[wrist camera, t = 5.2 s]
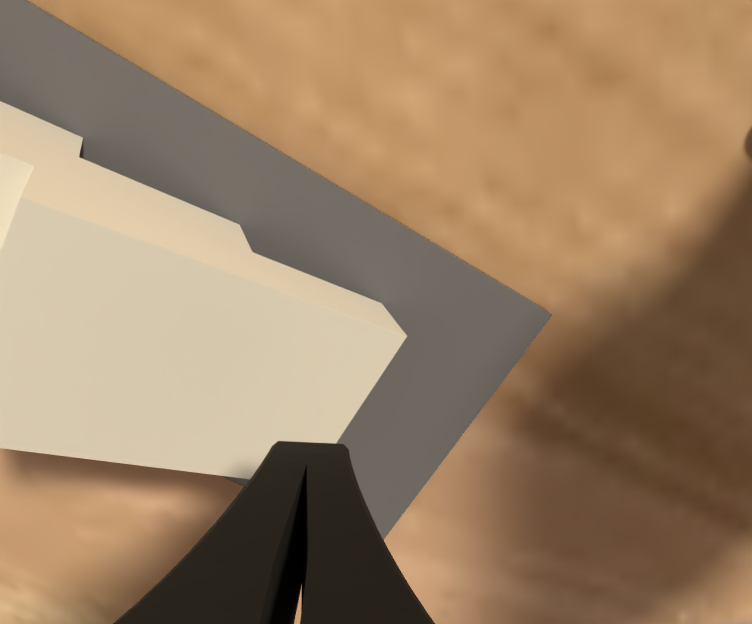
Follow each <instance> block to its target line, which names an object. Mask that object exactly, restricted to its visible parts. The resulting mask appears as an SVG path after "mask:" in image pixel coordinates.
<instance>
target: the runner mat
mask: <svg viewBox="0 0 752 624" xmlns="http://www.w3.org/2000/svg"><path fill="white" fill-rule="evenodd" d="M0 101H1V102H3V103H6V104H8V105H10V106H13V107H15V108H17V109H19V110H22V111H24V112H26V113H28V114H31V115H33V116H35V117H37V118H40V119H42V120H44V121H46V122H49V123H51V124H53V125H55V126H58V127H60V128H62V129H64V130H67V131H69V132H71V133H73V134H76V135H78V136H80V137H83V140H82V145H81V150H80V155H79V157H80V158H82V159H85V160H87V161H89V162H92V163H94V164H97V165H99V166H101V167H104V168H106V169H108V170H111V171H113V172H116V173H118V174H120V175H123V176H125V177H127V178H130V179H132V180H135V181H137V182H139V183H142V184H144V185H146V186H149V187H151V188H154V189H156V190H158V191H161V192H163V193H166V194H168V195H170V196H173V197H175V198H177V199H180V200H182V201H185V202H187V203H189V204H192V205H194V206H196V207H199V208H201V209H204V210H206V211H208V212H211V213H213V214H215V215H218V216H220V217H223V218H225V219H227V220H230V221H232V222H234V223H237V224H239V225H240V227H241V229H242V231H243V233H244V235H245V237H246V239H247V241H248V244H249V246H250V248H251V250H252V252H253V253H256V254H258V255H261V256H263V257H266V258H269V259H271V260H274V261H276V262H279V263H281V264H284V265H286V266H289V267H291V268H294V269H296V270H299V271H301V272H304V273H307V274H309V275H312V276H314V277H317V278H319V279H322V280H324V281H327V282H329V283H332V284H334V285H337V286H339V287H342V288H344V289H347V290H350V291H352V292H355V293H357V294H360V295H362V296H365V297H367V298H370V299H372V300H375V301H377V302H380V303H382V304H383V306H384V307H385V308H386V310H387V311H388V312H389V313H390V315H391V316H392V317H393V319H394V320H395V321H396V322H397V324H398V325H399V326H400V328H401V329H402V330H403V331H404V333H405V334H406V335H407V337H406V339H405V340H404V342H403V343H402V345H401V346H400V348H399V349H398V351H397V352H396V354H395V355H394V357H393V358H392V360H391V361H390V363H389V364H388V366H387V367H386V369H385V370H384V372H383V373H382V375H381V376H380V378H379V379H378V381H377V383H376V384H375V386H374V387H373V389H372V390H371V392H370V393H369V395H368V396H367V398H366V399H365V401H364V402H363V404H362V405H361V407H360V408H359V410H358V411H357V413H356V414H355V416H354V417H353V419H352V420H351V422H350V423H349V425H348V426H347V428H346V429H345V431H344V432H343V434H342V435H341V437H340V438H339V440H338V441H337V443H336V444H344V445H345V446H346V447H347V448H348V449H349V454H350V459H351V463H352V467H353V470H354V473H355V477H356V479H357V482H358V485H359V488H360V490H361V493H362V495H363V498H364V500H365V503H366V505H367V507H368V509H369V511H370V513H371V516H372V518H373V520H374V522H375V524H376V527H377V529H378V531H379V533H380V535H381V537H382V539H383V540H384V538H385V537H386V536H387V534H388V533H389V532H390V530H391V529H392V528H393V526H394V525H395V524H396V522H397V521H398V520H399V518H400V517H401V516H402V514H403V513H404V512H405V510H406V509H407V508H408V506H409V505H410V504H411V502H412V501H413V500H414V498H415V497H416V496H417V494H418V493H419V492H420V490H421V489H422V488H423V486H424V485H425V484H426V482H427V481H428V480H429V478H430V477H431V476H432V474H433V473H434V472H435V470H436V469H437V468H438V466H439V465H440V464H441V462H442V461H443V460H444V458H445V457H446V456H447V454H448V453H449V452H450V450H451V449H452V448H453V446H454V445H455V444H456V442H457V441H458V440H459V438H460V437H461V436H462V434H463V433H464V432H465V430H466V429H467V428H468V426H469V425H470V424H471V422H472V421H473V420H474V418H475V417H476V416H477V414H478V413H479V412H480V410H481V409H482V408H483V406H484V405H485V404H486V402H487V401H488V400H489V398H490V397H491V396H492V394H493V393H494V392H495V390H496V389H497V388H498V386H499V385H500V384H501V382H502V381H503V380H504V378H505V377H506V376H507V374H508V373H509V372H510V370H511V369H512V368H513V366H514V365H515V364H516V362H517V361H518V360H519V358H520V357H521V356H522V354H523V353H524V352H525V350H526V349H527V348H528V346H529V345H530V344H531V342H532V341H533V340H534V338H535V337H536V336H537V334H538V333H539V332H540V330H541V329H542V328H543V326H544V325H545V324H546V322H547V321H548V320H549V318H550V317H551V316H552V315H551V314H550V313H549V312H548V311H547V310H545V309H544V308H542V307H540V306H539V305H537V304H535V303H534V302H532V301H530V300H529V299H527V298H525V297H524V296H522V295H520V294H519V293H517V292H515V291H514V290H512V289H510V288H509V287H507V286H505V285H504V284H502V283H500V282H498V281H497V280H495V279H493V278H492V277H490V276H488V275H487V274H485V273H483V272H482V271H480V270H478V269H477V268H475V267H473V266H472V265H470V264H468V263H467V262H465V261H463V260H462V259H460V258H458V257H457V256H455V255H453V254H452V253H450V252H448V251H447V250H445V249H443V248H441V247H440V246H438V245H436V244H435V243H433V242H431V241H430V240H428V239H426V238H425V237H423V236H421V235H420V234H418V233H416V232H415V231H413V230H411V229H410V228H408V227H406V226H405V225H403V224H401V223H400V222H398V221H396V220H395V219H393V218H391V217H390V216H388V215H386V214H384V213H383V212H381V211H379V210H378V209H376V208H374V207H373V206H371V205H369V204H368V203H366V202H364V201H363V200H361V199H359V198H358V197H356V196H354V195H353V194H351V193H349V192H348V191H346V190H344V189H343V188H341V187H339V186H338V185H336V184H334V183H333V182H331V181H329V180H327V179H326V178H324V177H322V176H321V175H319V174H317V173H316V172H314V171H312V170H311V169H309V168H307V167H306V166H304V165H302V164H301V163H299V162H297V161H296V160H294V159H292V158H291V157H289V156H287V155H286V154H284V153H282V152H281V151H279V150H277V149H275V148H274V147H272V146H270V145H269V144H267V143H265V142H264V141H262V140H260V139H259V138H257V137H255V136H254V135H252V134H250V133H249V132H247V131H245V130H244V129H242V128H240V127H239V126H237V125H235V124H234V123H232V122H230V121H229V120H227V119H225V118H224V117H222V116H220V115H218V114H217V113H215V112H213V111H212V110H210V109H208V108H207V107H205V106H203V105H202V104H200V103H198V102H197V101H195V100H193V99H192V98H190V97H188V96H187V95H185V94H183V93H182V92H180V91H178V90H177V89H175V88H173V87H172V86H170V85H168V84H167V83H165V82H163V81H161V80H160V79H158V78H156V77H155V76H153V75H151V74H150V73H148V72H146V71H145V70H143V69H141V68H140V67H138V66H136V65H135V64H133V63H131V62H130V61H128V60H126V59H125V58H123V57H121V56H120V55H118V54H116V53H115V52H113V51H111V50H110V49H108V48H106V47H104V46H103V45H101V44H99V43H98V42H96V41H94V40H93V39H91V38H89V37H88V36H86V35H84V34H83V33H81V32H79V31H78V30H76V29H74V28H73V27H71V26H69V25H68V24H66V23H64V22H63V21H61V20H59V19H58V18H56V17H54V16H53V15H51V14H49V13H47V12H46V11H44V10H42V9H41V8H39V7H37V6H36V5H34V4H32V3H31V2H29V1H27V0H0ZM222 477H225V478H227V479H229V480H231V481H234V482H236V483H238V484H240V485H243V486H245V485H246V484H247V483H248V481H249V480H250V479H244V478H236V477H228V476H222Z"/></svg>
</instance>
